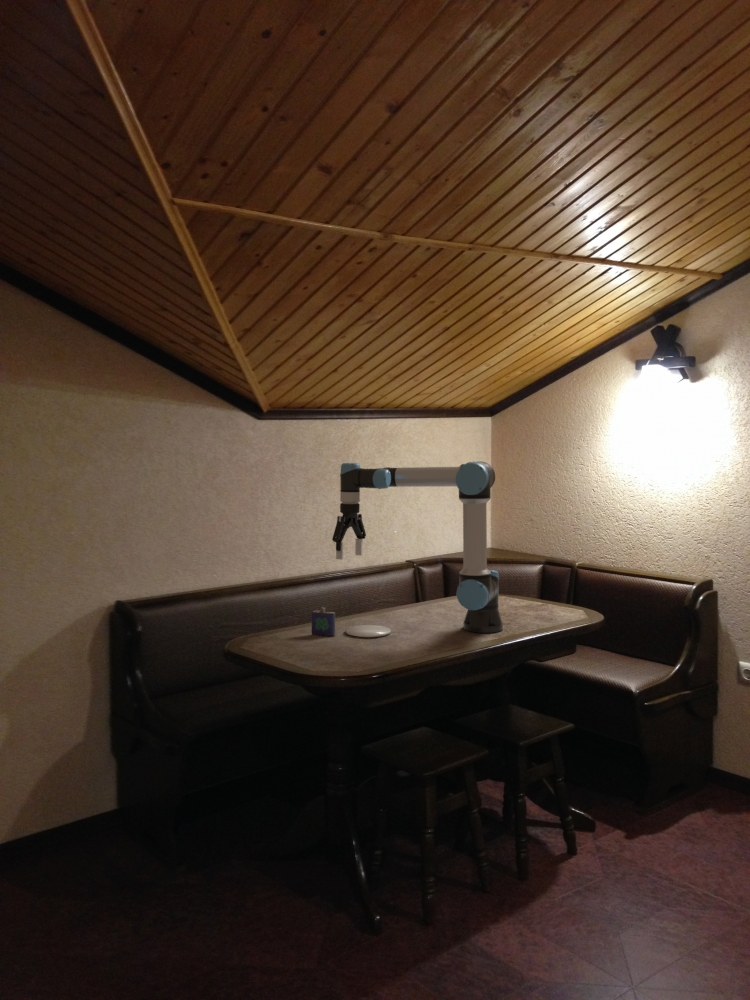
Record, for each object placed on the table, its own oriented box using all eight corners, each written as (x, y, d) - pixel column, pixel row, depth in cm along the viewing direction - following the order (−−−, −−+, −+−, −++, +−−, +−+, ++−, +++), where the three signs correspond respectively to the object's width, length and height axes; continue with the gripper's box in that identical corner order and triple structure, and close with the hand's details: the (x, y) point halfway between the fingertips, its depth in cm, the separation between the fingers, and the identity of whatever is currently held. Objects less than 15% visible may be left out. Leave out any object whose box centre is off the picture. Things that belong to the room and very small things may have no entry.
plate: (397, 630, 315) (397, 627, 315) (380, 640, 299) (380, 637, 299) (356, 626, 322) (356, 623, 321) (338, 636, 306) (338, 632, 306)
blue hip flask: (336, 635, 307) (336, 607, 306) (333, 637, 304) (333, 608, 303) (312, 634, 309) (312, 605, 308) (310, 635, 306) (309, 607, 306)
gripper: (359, 500, 332) (358, 552, 334) (323, 504, 311) (322, 560, 313) (374, 501, 328) (374, 554, 330) (339, 505, 307) (339, 561, 309)
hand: (349, 557), depth 321 cm, fingers open, 13 cm apart
